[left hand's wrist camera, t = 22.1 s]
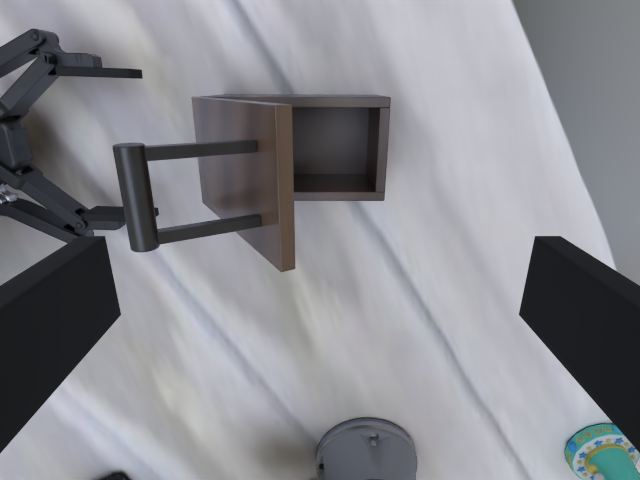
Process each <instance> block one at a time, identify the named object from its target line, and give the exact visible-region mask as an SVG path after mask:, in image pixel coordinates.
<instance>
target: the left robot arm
mask: <svg viewBox="0 0 640 480" xmlns="http://www.w3.org/2000/svg"><path fill="white" fill-rule="evenodd" d="M120 315H121V313H120V308H119V303H118V298H117V293H116V288H115V283H114V278H113V274H112V269H111V264H110V259H109V254H108V249H107V244H106V240H105V236H79V237H78V238H76V239H75V240H73V241H71V242H70V243H68V244H67V245H65V246H63V247H62V248H60V249H59V250H57V251H55V252H54V253H52V254H51V255H49V256H47V257H46V258H44V259H43V260H41V261H39V262H38V263H36V264H35V265H33V266H31V267H30V268H28V269H27V270H25V271H23V272H22V273H20V274H19V275H17V276H15V277H14V278H12V279H11V280H9V281H7V282H6V283H4V284H3V285H1V286H0V453H1V452H2V451H3V449H4V448H5V447H6V446H7V445H8V444H9V443H10V441H11V440H12V439H13V438H14V437H15V436H16V435H17V433H18V432H19V431H20V430H21V429H22V428H23V427H24V425H25V424H26V423H27V422H28V421H29V420H30V418H31V417H32V416H33V415H34V414H35V413H36V412H37V410H38V409H39V408H40V407H41V406H42V405H43V404H44V402H45V401H46V400H47V399H48V398H49V397H50V396H51V394H52V393H53V392H54V391H55V390H56V389H57V387H58V386H59V385H60V384H61V383H62V382H63V381H64V379H65V378H66V377H67V376H68V375H69V374H70V373H71V371H72V370H73V369H74V368H75V367H76V366H77V365H78V363H79V362H80V361H81V360H82V359H83V358H84V356H85V355H86V354H87V353H88V352H89V351H90V350H91V348H92V347H93V346H94V345H95V344H96V343H97V342H98V340H99V339H100V338H101V337H102V336H103V335H104V333H105V332H106V331H107V330H108V329H109V328H110V327H111V325H112V324H113V323H114V322H115V321H116V320H117V319H118V317H119V316H120ZM519 315H520V316H521V317H522V319H523V320H524V321H525V322H526V323H527V324H528V325H529V327H530V328H531V329H532V330H533V331H534V332H535V333H536V335H537V336H538V337H539V338H540V339H541V340H542V342H543V343H544V344H545V345H546V346H547V347H548V348H549V350H550V351H551V352H552V353H553V354H554V355H555V356H556V358H557V359H558V360H559V361H560V362H561V363H562V365H563V366H564V367H565V368H566V369H567V370H568V371H569V373H570V374H571V375H572V376H573V377H574V378H575V379H576V381H577V382H578V383H579V384H580V385H581V386H582V387H583V389H584V390H585V391H586V392H587V393H588V394H589V396H590V397H591V398H592V399H593V400H594V401H595V402H596V404H597V405H598V406H599V407H600V408H601V409H602V410H603V412H604V413H605V414H606V415H607V416H608V417H609V418H610V420H611V421H612V422H613V423H614V424H615V425H616V427H617V428H618V429H619V430H620V431H621V432H622V433H623V435H624V436H625V437H626V438H627V439H628V440H629V441H630V443H631V444H632V445H633V446H634V447H635V448H636V449H637V451H638V452H639V453H640V286H639V285H637V284H636V283H634V282H633V281H631V280H629V279H628V278H626V277H625V276H623V275H621V274H620V273H618V272H617V271H615V270H613V269H612V268H610V267H609V266H607V265H605V264H604V263H602V262H601V261H599V260H597V259H596V258H594V257H593V256H591V255H589V254H588V253H586V252H585V251H583V250H581V249H580V248H578V247H577V246H575V245H573V244H572V243H570V242H569V241H567V240H565V239H564V238H562V237H561V236H535V240H534V244H533V249H532V254H531V259H530V264H529V269H528V274H527V278H526V283H525V288H524V293H523V298H522V303H521V308H520V313H519ZM416 471H417V457H416V453H415V449H414V445H413V442H412V440H411V439H410V437H409V436H408V434H407V433H406V432H405V431H404V430H402V429H401V428H400V427H398V426H397V425H395V424H393V423H390V422H388V421H384V420H380V419H372V418H363V419H355V420H351V421H348V422H345V423H342V424H340V425H338V426H336V427H335V428H333V429H332V430H330V431H329V432H328V433H327V434H326V435H325V436H324V437H323V439H322V440H321V442H320V444H319V446H318V449H317V473H318V476H319V479H320V480H416Z"/></svg>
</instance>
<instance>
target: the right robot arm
mask: <svg viewBox="0 0 640 480" xmlns="http://www.w3.org/2000/svg"><path fill="white" fill-rule="evenodd" d="M38 56H39V57H38ZM36 57H38V58H37V59H36V60H35V61H34V62H33V63H32V64H31V65H30V67H29V68H28V69H27V70H26V71H25V72H24V73H23V74H22V75H21V76H20V77H19V79H18V80H17V81H16V82H15V83H14V84H13V85H12V86H11V87H10V88H9V89H8V91H7V92H6V93H5V94H4V95H3V96H2V97H1V98H0V215H2V216H8V217H10V218H13V219H15V220H17V221H19V222H22V223H24V224H26V225H28V226H31V227H33V228H35V229H37V230H39V231H42V232H44V233H46V234H48V235H51V236H53V237H55V238H57V239H60V240H62V241H64V242H66V243H70V242H71V241H73V240H75V239H76V238H78V237H79V236H94V232H93V229H94V230H117V229H119V228H121V227H122V226H124V225H125V224H126V223H125V222H126V219H125V213H124V208H123V207H111V206H96V207H94V208H92V209H90V210H89V209H87V208H86V207H84V206H83V205H82V204H80V203H79V202H78V201H76V200H75V199H73V198H72V197H71V196H69V195H68V194H67V193H65V192H64V191H63V190H61V189H60V188H58V187H57V186H56V185H54V184H53V183H52V182H50V181H49V180H47V179H46V178H45V177H43V173H42V172H41V171H40V170H38V169H37V168H36V167H34V166H33V165H31V164H30V160H31V159H33V157H32V153H31V150H30V148H29V146H28V144H27V140H28V135H27V130H26V128H23V126H22V125H21V123H20V122H19V121H20V120H21V119H22V118H23V117H24V116H25V115H26V114H27V113H28V112H29V110H28V109H29V107H30V106H31V105H32V104H33V103H34V102H35V101H36V100H37V99H38V98H39V97H40V96H41V95H42V94H43V93H44V92H45V91H46V89H47V88H48V87H49V86H50V85H51V84H52V83H53V82H54V81H55V80H56V79H57V78H58V77H59V76H83V77H113V78H142V70H136V69H118V68H102V63H101V57H99V56H97V55H94V54H85V53H65V52H64V51H63V50H62V49H61V48H60V46H59V38H58V36H57V35H56V34H55V33H53V32H48V31H43V30H38V29H30V30H29V31H27V32H25V33H24V34H22V35H20V36H19V37H17V38H15V39H13V40H12V41H10V42H8V43H7V44H5V45H3V46H1V47H0V78H1V77H3V76H5V75H7V74H8V73H10V72H12V71H14V70H15V69H17V68H19V67H21V66H22V65H24V64H26V63H28V62H29V61H31V60H33V59H35V58H36ZM20 173H22V175H19V174H20ZM6 184H8V185H9V186H11V187H12V188H14V189H17V190H21V191H23V192H25V193H26V194H27V195H29V196H30V197H32V198H33V199H34V200H36V201H37V202H39V203H40V204H41V205H43V206H44V207H46V208H47V209H46V208H43V207H41V206H39V205H37V204H35V203H33V202H30V201H28V200H25V199H20V198H18V197H19V196H18V194H16V193H14V194H13V193H11V192H9V191H7V190H6V188H5V185H6ZM154 210H155V217H156V216H158V215H159V213H158V208H154Z"/></svg>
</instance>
